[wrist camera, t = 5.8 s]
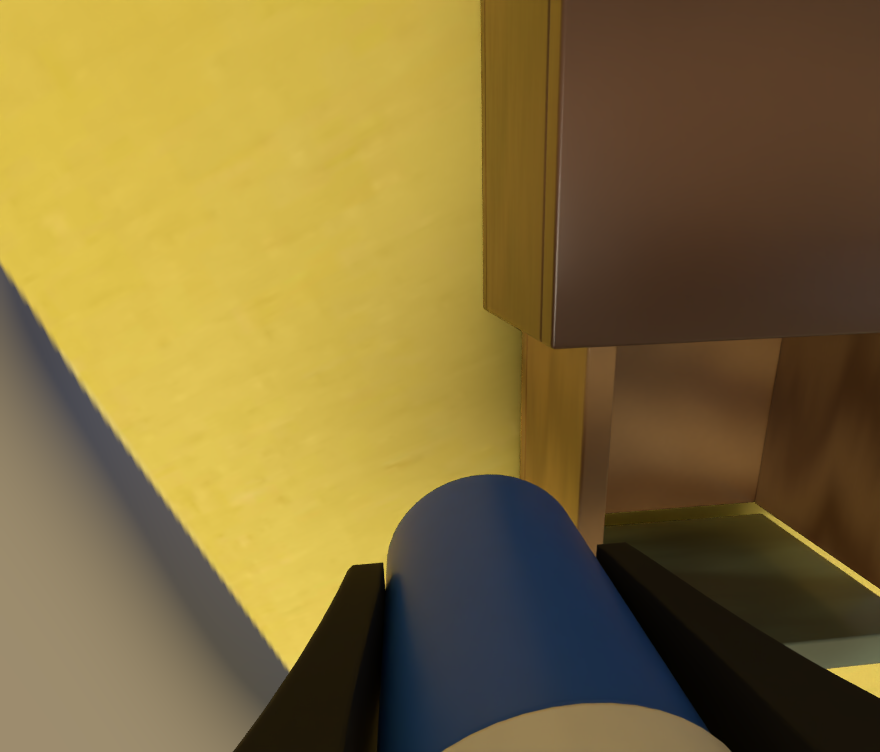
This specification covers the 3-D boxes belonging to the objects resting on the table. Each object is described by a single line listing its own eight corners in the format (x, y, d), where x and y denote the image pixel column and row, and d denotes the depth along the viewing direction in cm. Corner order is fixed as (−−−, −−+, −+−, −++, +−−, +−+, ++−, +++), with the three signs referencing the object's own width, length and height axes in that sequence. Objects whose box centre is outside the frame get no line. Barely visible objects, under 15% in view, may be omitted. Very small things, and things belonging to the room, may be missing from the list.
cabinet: (793, 295, 19) (1097, 322, 11) (483, 309, 18) (551, 350, 10) (866, -130, 15) (1421, -599, 7) (478, -141, 14) (584, -700, 6)
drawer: (744, 612, 22) (888, 761, 16) (501, 636, 21) (545, 804, 15) (809, 239, 17) (1053, 226, 11) (502, 249, 17) (567, 242, 10)
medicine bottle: (620, 537, 10) (966, 975, 4) (495, 670, 11) (621, 1223, 5) (468, 428, 9) (607, 784, 3) (341, 582, 10) (236, 1136, 4)
